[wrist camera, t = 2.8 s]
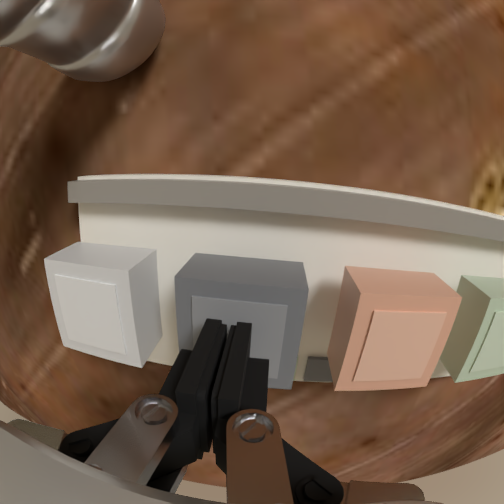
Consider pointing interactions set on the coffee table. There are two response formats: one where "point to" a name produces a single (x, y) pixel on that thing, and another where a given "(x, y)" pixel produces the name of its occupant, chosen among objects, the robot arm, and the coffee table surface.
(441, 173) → the coffee table surface
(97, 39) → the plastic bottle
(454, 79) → the coffee table surface
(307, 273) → the keyboard base
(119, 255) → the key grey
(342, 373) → the key terracotta
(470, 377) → the key sage
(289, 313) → the key charcoal
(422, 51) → the coffee table surface
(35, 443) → the robot arm
